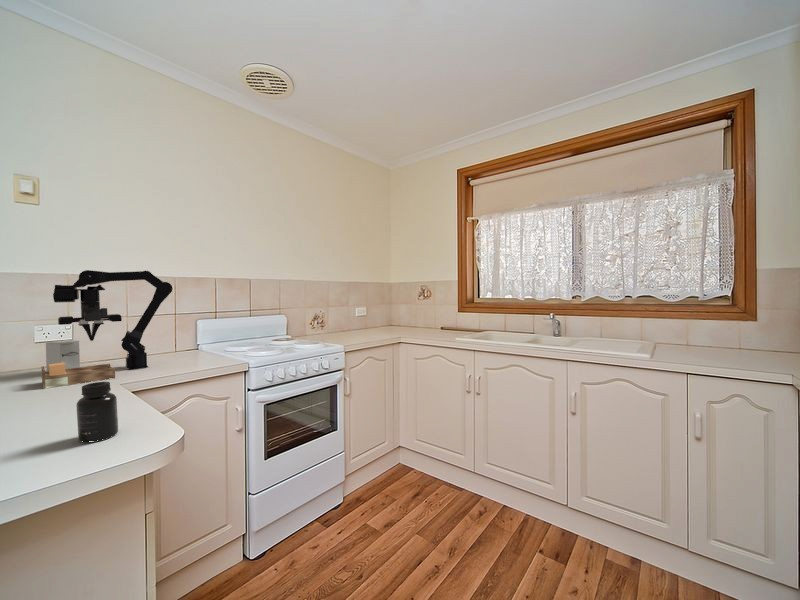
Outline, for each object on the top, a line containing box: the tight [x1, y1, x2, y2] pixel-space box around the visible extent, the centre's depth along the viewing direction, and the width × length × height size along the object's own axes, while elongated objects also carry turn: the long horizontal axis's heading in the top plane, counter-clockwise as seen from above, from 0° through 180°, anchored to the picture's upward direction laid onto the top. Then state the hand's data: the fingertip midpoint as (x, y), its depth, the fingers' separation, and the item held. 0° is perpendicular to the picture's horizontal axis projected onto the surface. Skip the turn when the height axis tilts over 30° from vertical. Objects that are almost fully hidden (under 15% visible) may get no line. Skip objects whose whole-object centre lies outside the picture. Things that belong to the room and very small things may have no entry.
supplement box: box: [45, 339, 81, 372], centre depth 143 cm, size 7×7×13 cm
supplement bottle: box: [76, 381, 119, 442], centre depth 78 cm, size 7×7×12 cm
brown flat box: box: [41, 363, 116, 390], centre depth 128 cm, size 19×11×6 cm, turn 137°
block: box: [49, 363, 65, 376], centre depth 124 cm, size 4×4×4 cm
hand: (91, 340), depth 141 cm, fingers closed
